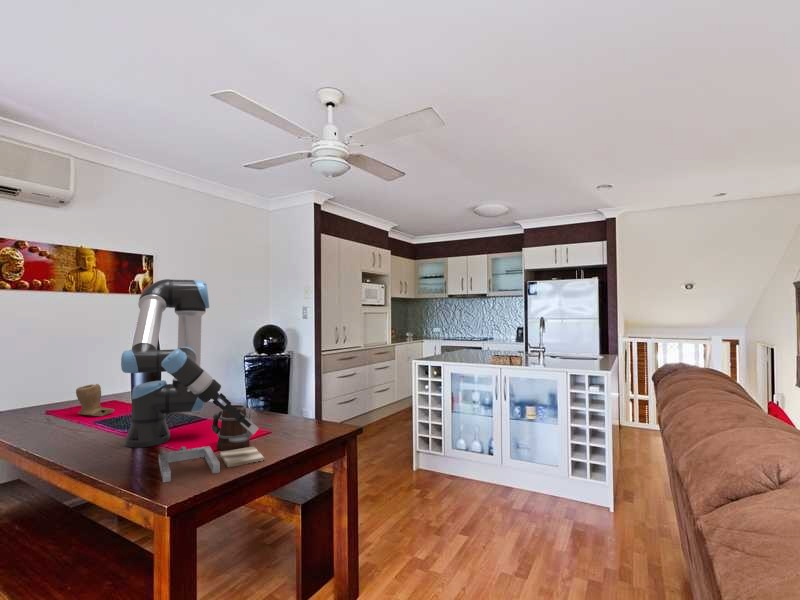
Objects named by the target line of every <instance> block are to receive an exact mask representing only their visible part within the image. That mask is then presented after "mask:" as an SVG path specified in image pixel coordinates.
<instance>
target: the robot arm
mask: <svg viewBox="0 0 800 600" xmlns="http://www.w3.org/2000/svg"><path fill="white" fill-rule="evenodd" d="M137 304H138V308H139V312H138V317H137V322H136V327H135V330H134V336H133V340H132V345H131V349H128V350H124V351H123V352H122V354H121V359H120V367H121V368H120V369H121V371H122V372H123V373H125V374H141V373H142V374H143V373H146V374H147V373H158V372H159V373H163V372H164V373H165V372H166V373H167V374H170V375H171V376H172V377H173V378H172V383H169V384H168V383H167V381H166V380H164V379H163V380H154V381H153V380H152V381H147V382H142V383H140V384H137V385H136V386H134V387H133V389H132V390H131V391H132V393H131V398H130V399H131V417H130V418H131V424H130V426H129V428H128V432H127V434H126V436H125V444H124V445H125V446H126V447H128V448H147V447H156V446H158V445H162V443H163V444H165V443H168V442H169V441H170V440H171V433H170V429H169V427H168V424H167V421H166V415H167V414H169V415H170V414H178V413H180V414H181V413H182V414H183V413H193V412H199V411H200V412H201V411H202V410H203V409H204V407H205V403H207V402H209V401H211V400H212V403H213V405H215V407H216V406H217V407H218V408H220V409H221V411H223V410H226V411H227V412H228V413H229V414H230V415H231V416H233V417H234V418H235V419H236V420H237V421H238V425H239V424H241V425H242V426H244V427H245V428H246V429H247V430H248V431H249V432H251V433H252V436H254V435H255V434H256V433H257V431H258V430H259V429H260V427H258V426H257V425H256V424H254V422H253V421H252V422H251V421H250V420H249V419H248V418H249V417H248V418H246V417H245V416H244V415H243V414H242V413H241V412H240V411H241V410H240V409H238V410H237V409H236V408H234V407H233V406H232V405H233V404H232V402H231V401H230V400H229V399H227V397H226V396H225V395H224V393H222V392H221V393H219V392H220V390H221V388H222V385H221V384H220V383H219V382H218V381H217V380H216V379H213V377H212V376H211V374H209V373H208V372H207V371H206V370H205V369H204V368H202V367H201V356H202V355H201V353H202V352H201V350H202V348H201V347H202V346H201V345H202V317H203V315H204V314H205V313H206V312H207V311H206V310H207V309H209V308H210V300H209V293H208V285H207V283H206V282H205V281H204V280H198V279H197V280H196V279H170V278H167V279H161V280H158V281H155V282H153V283H151V284H150V285H149V286H147V287H146V288H145V289H144V290H143V291H142V293H141V294H140V295H139V298H138V303H137ZM167 308H169V309H174V313H175V314H176V316H178V321H177V322H178V325H177V328H178V329H177V348H175V349H158V346H159V338H160V332H161V324H162V317H163V312H164V311H165V310H166V309H167ZM169 439H170V440H169ZM168 440H169V441H168Z"/></svg>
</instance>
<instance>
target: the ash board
mask: <svg viewBox="0 0 800 600" xmlns="http://www.w3.org/2000/svg"><path fill="white" fill-rule="evenodd" d="M219 456H220V458H221V459H222V461H223V462H224V464H225V466H226V467H227V468H234V467H238V466H245V465H249V464H248V463H250V464H254V463H253V462H256V463H259V462H258V461H261V462H264V461H265V456H263V454H262V453H261V452H260V451H259V450H258V449H257V448H256V447H255V446H247V447H245V448H241V449H235V450H229V451H223V450H222V451H220V452H219ZM263 460H264V461H263ZM244 464H245V465H244Z"/></svg>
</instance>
